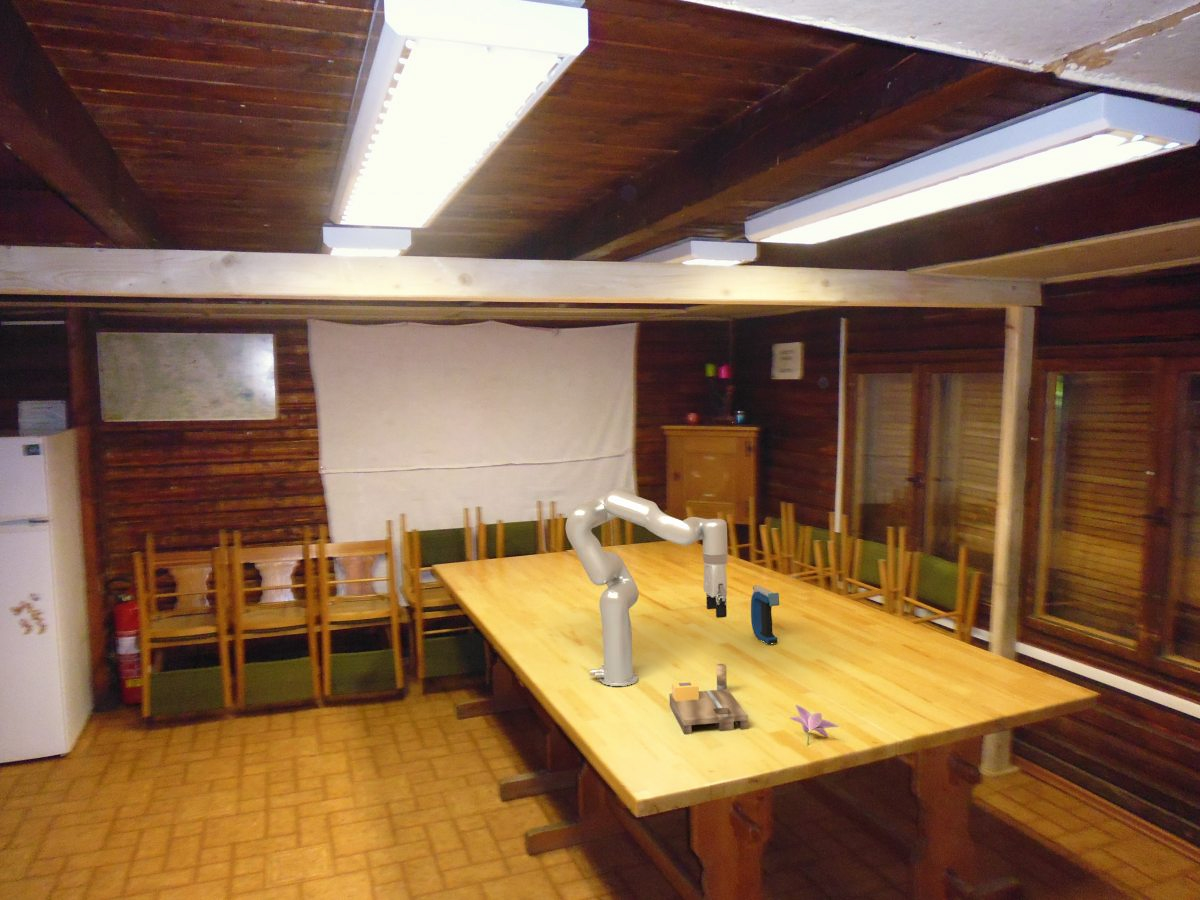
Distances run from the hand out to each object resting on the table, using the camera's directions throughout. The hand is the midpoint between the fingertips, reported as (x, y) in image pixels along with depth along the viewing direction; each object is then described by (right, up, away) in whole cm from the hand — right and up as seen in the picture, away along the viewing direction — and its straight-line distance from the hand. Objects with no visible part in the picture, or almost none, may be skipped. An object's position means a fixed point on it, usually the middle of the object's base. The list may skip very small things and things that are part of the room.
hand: (716, 612), depth 254 cm
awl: (+2, -25, 0) cm, 25 cm away
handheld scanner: (+26, -21, +51) cm, 60 cm away
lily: (+21, -27, -35) cm, 49 cm away
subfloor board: (-5, -27, -18) cm, 33 cm away
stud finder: (-11, -22, -13) cm, 28 cm away
